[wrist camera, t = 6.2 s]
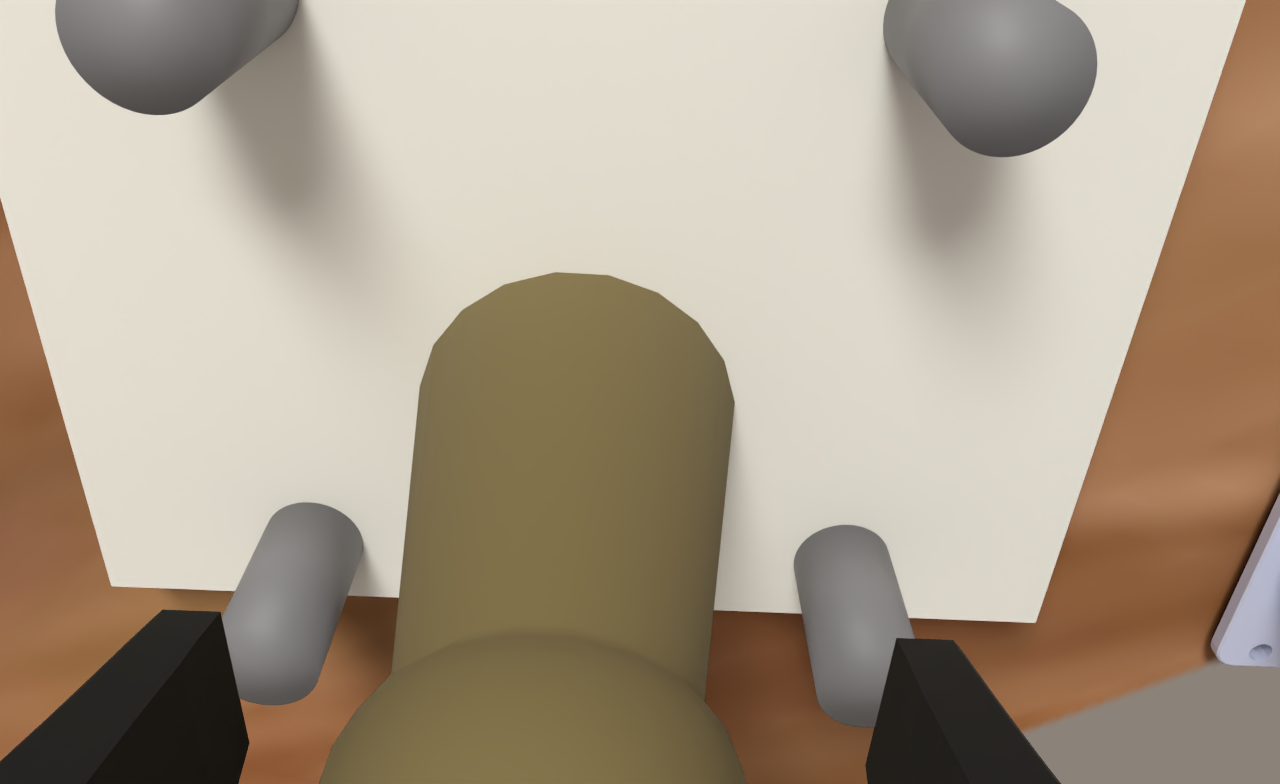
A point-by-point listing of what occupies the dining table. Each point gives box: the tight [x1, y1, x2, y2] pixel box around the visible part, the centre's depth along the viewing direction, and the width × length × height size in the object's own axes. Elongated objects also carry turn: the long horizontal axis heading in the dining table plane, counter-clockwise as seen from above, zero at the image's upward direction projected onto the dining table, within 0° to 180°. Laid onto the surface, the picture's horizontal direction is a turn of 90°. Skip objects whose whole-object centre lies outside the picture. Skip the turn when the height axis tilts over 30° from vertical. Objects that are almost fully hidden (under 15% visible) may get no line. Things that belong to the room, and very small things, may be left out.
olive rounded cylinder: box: [319, 272, 747, 784], centre depth 15 cm, size 6×6×11 cm
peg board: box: [0, 0, 1246, 727], centre depth 18 cm, size 20×14×5 cm
